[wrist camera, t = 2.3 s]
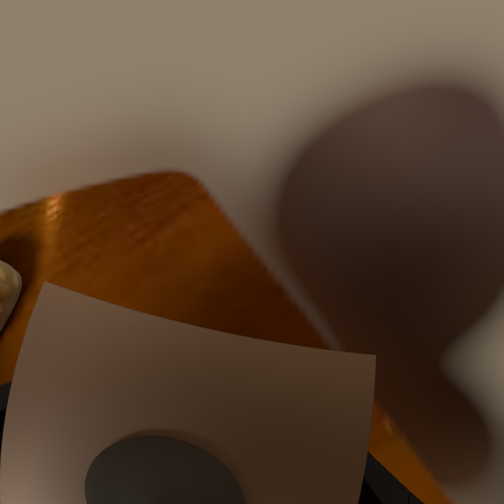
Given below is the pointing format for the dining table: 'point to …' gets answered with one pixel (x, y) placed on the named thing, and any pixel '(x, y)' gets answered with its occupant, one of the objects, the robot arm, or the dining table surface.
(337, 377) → the block
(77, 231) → the dining table surface
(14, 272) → the pastry
